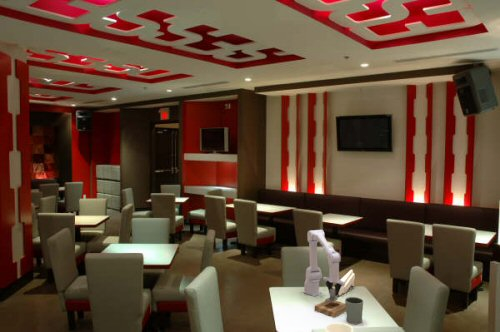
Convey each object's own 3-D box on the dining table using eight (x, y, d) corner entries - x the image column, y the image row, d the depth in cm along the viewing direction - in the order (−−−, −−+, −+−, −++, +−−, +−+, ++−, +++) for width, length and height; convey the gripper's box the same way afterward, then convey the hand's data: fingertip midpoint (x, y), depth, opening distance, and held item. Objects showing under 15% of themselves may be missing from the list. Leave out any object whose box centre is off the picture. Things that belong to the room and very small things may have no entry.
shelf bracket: (356, 286, 292) (355, 270, 289) (341, 304, 273) (340, 287, 270) (349, 284, 295) (348, 269, 292) (334, 302, 276) (332, 285, 273)
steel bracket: (325, 301, 250) (325, 290, 250) (332, 297, 255) (332, 287, 255) (330, 303, 247) (330, 292, 247) (337, 299, 253) (337, 289, 252)
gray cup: (365, 324, 233) (365, 303, 232) (348, 324, 232) (348, 303, 231) (359, 316, 243) (359, 296, 242) (342, 316, 242) (342, 296, 241)
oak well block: (314, 310, 251) (314, 305, 250) (329, 303, 262) (329, 298, 262) (334, 317, 241) (334, 312, 241) (348, 309, 252) (348, 304, 252)
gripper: (320, 271, 254) (320, 292, 255) (340, 276, 244) (340, 299, 245) (326, 268, 259) (326, 290, 260) (347, 274, 249) (346, 296, 250)
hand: (333, 294), depth 253 cm, fingers closed on steel bracket, 4 cm apart
